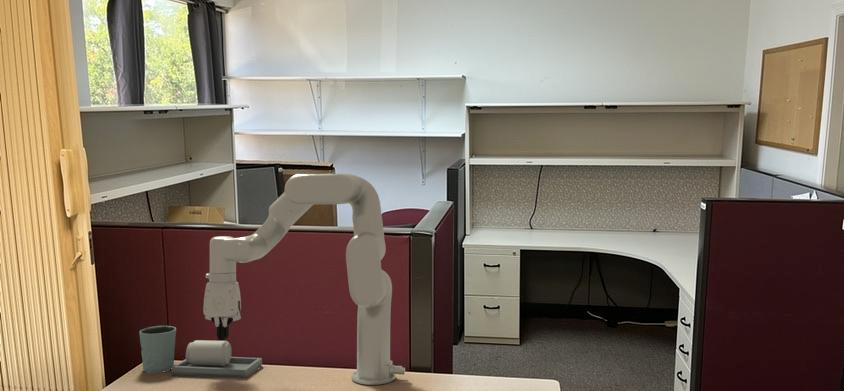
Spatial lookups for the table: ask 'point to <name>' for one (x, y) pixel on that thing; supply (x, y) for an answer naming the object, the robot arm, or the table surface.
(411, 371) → the table surface
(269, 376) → the table surface
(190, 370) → the tray
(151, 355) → the green cup
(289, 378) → the table surface
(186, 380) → the table surface
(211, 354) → the can
